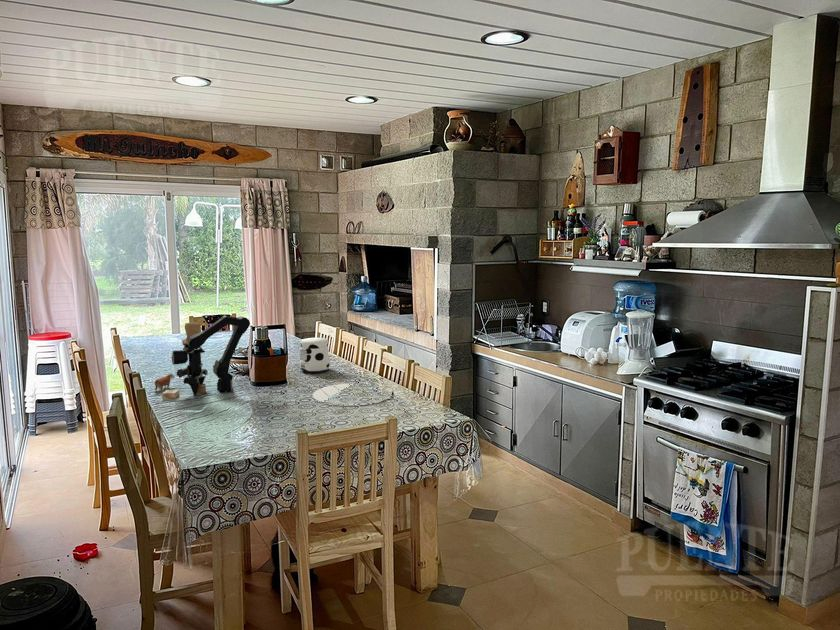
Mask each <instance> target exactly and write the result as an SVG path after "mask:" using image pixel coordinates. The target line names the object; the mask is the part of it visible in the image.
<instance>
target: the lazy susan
mask: <svg viewBox="0 0 840 630" xmlns="http://www.w3.org/2000/svg"><path fill="white" fill-rule="evenodd" d="M353 383H354V382H352V384H350V385H353ZM365 383H366V384H370V383H369V382H367V381H365V382H364V384H365ZM350 385H349V382H348V383H339V384H332V385H328V386H325V387H322V388H318V389H317V390H315V391H313V393H312V399H313V398H314V399H316V400H317V401H320V402H321V401H322V402H324V400H328V398H329V399H330V397H331V396H332V395H334V394H336V393H339V392H341V390H343V389H344V388H346V387H347V388H348V387H349V386H350ZM334 386H335V387H334ZM381 386H382V389H385V388H392V387H391V386H389V385H387V384H382V385H381ZM337 388H338V389H339V390H340V391H339V390H338V389H337ZM338 391H339V392H338ZM324 392H325V393H326V394H327V395H328V396H327V395H326V394H325V393H324ZM329 396H330V397H329ZM314 399H313V400H314ZM317 401H316V402H317ZM326 402H327V401H326Z"/></svg>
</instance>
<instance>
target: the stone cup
mask: <svg viewBox="0 0 840 630" xmlns="http://www.w3.org/2000/svg"><path fill="white" fill-rule="evenodd" d="M184 331H185V334H186V338H184V339H182V340H181V343H182V344H183V345H186V343H187V339H188V338H189V337H190V336H192V335H195V334H197V333H200V332H201V324H200V323H199V322H186V323H185V324H184Z"/></svg>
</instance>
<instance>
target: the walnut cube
mask: <svg viewBox="0 0 840 630" xmlns="http://www.w3.org/2000/svg"><path fill="white" fill-rule="evenodd" d="M206 387H207V386H206V383H203V384H199V387H198V391H197V394H196V395H195V396H198V395H206V394H207V389H206Z"/></svg>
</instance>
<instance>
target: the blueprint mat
mask: <svg viewBox="0 0 840 630" xmlns="http://www.w3.org/2000/svg"><path fill="white" fill-rule="evenodd" d="M190 396H191V394H180V396H179V397H178V398H176V399H164V400H162V398H161V399H159V400H158V401H159V402H163V401H165V402H168V401H169V402H170V401H174V402H175V401H186V400H187V399H188V398H189V397H190Z"/></svg>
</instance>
